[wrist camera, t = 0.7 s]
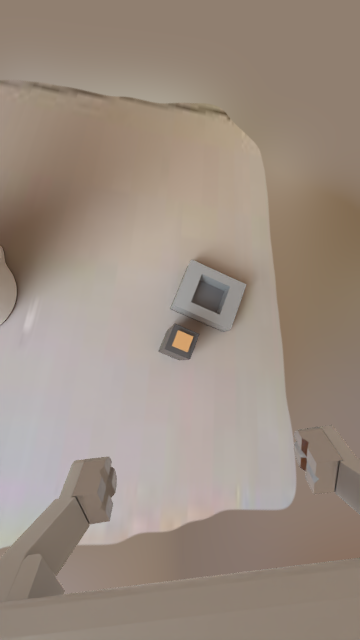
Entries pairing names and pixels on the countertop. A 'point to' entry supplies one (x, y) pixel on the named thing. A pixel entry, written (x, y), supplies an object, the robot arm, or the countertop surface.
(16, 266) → the countertop surface
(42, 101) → the countertop surface
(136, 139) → the countertop surface
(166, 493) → the countertop surface
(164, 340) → the plug
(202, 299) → the socket plate
